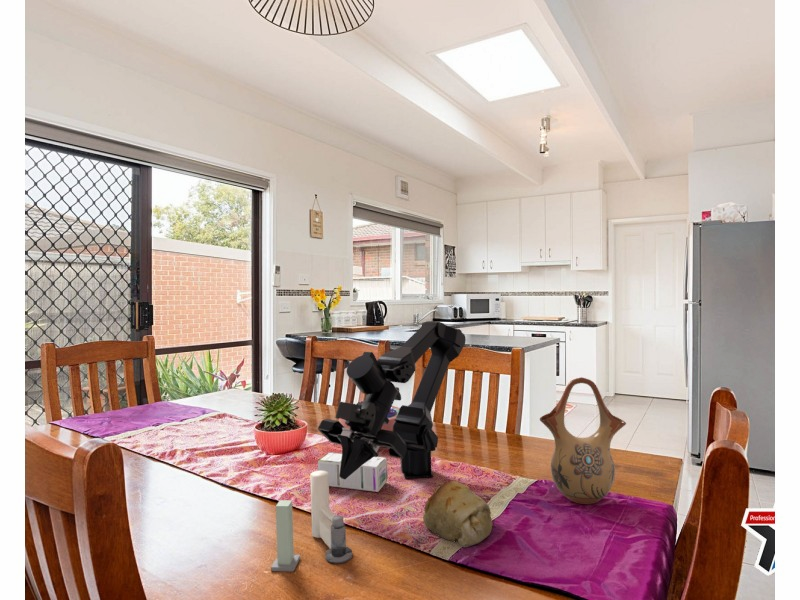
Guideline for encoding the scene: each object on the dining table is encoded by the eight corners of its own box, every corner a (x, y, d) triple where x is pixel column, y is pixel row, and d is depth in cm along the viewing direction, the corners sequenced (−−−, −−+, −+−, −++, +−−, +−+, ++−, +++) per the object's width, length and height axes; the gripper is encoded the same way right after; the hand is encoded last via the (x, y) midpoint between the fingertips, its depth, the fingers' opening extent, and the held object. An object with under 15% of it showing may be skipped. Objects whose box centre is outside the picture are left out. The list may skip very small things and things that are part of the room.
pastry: (422, 510, 96) (421, 470, 95) (486, 509, 95) (485, 469, 95) (424, 549, 82) (423, 502, 81) (499, 548, 81) (498, 501, 81)
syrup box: (317, 485, 108) (378, 494, 103) (317, 459, 107) (378, 467, 103) (329, 475, 113) (388, 482, 108) (328, 450, 113) (387, 457, 108)
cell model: (362, 426, 151) (361, 390, 151) (415, 437, 139) (414, 398, 139) (323, 441, 137) (322, 402, 137) (378, 455, 126) (377, 412, 125)
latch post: (278, 557, 80) (276, 497, 79) (300, 558, 79) (298, 498, 79) (270, 570, 76) (269, 508, 76) (293, 571, 76) (291, 508, 75)
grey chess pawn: (352, 547, 82) (351, 518, 82) (352, 562, 78) (351, 532, 78) (325, 549, 82) (325, 520, 82) (324, 565, 77) (323, 534, 77)
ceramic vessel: (541, 507, 95) (540, 381, 94) (539, 487, 104) (537, 372, 103) (631, 514, 92) (631, 383, 91) (621, 493, 101) (620, 374, 100)
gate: (349, 554, 80) (348, 490, 79) (331, 560, 78) (330, 494, 78) (326, 526, 89) (324, 469, 88) (309, 531, 87) (307, 473, 87)
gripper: (322, 379, 100) (283, 448, 92) (397, 389, 90) (361, 468, 81) (348, 409, 107) (314, 475, 98) (420, 421, 97) (389, 496, 88)
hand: (342, 478), depth 91 cm, fingers closed
